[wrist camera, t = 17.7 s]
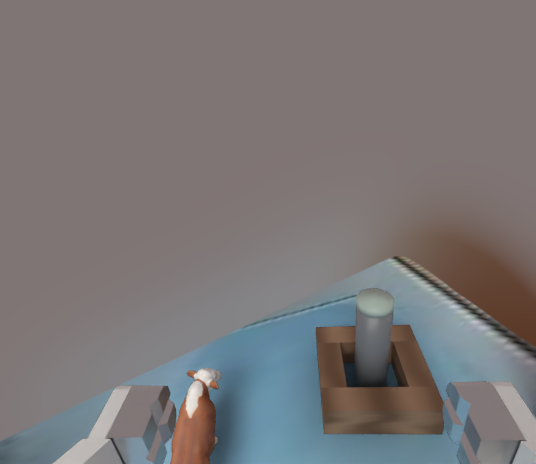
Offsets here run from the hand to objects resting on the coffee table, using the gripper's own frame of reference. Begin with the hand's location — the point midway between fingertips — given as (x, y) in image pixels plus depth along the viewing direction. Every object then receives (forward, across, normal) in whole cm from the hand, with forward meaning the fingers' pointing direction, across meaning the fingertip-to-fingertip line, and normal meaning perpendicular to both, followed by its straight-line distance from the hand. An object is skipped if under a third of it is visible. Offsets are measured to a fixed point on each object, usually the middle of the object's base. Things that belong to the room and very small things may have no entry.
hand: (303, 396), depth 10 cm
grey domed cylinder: (+24, -8, +30) cm, 39 cm away
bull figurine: (+15, +12, +30) cm, 36 cm away
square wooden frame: (+24, -8, +30) cm, 39 cm away
